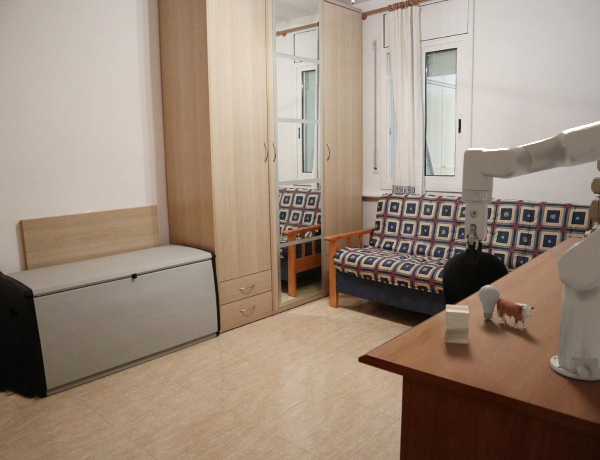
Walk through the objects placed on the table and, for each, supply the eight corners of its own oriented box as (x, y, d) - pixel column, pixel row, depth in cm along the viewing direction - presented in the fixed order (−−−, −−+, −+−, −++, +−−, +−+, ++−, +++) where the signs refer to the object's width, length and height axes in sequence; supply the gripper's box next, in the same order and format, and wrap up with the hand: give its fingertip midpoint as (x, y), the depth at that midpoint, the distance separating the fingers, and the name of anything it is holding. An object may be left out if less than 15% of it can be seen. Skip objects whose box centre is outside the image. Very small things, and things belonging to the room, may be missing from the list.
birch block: (467, 344, 139) (469, 313, 138) (445, 342, 141) (446, 311, 139) (466, 336, 145) (468, 306, 143) (444, 334, 146) (445, 304, 145)
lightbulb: (486, 324, 153) (487, 289, 152) (473, 317, 159) (474, 283, 157) (502, 321, 155) (504, 287, 153) (489, 315, 161) (491, 281, 159)
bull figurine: (525, 335, 145) (527, 307, 143) (492, 320, 157) (493, 294, 156) (537, 333, 146) (539, 305, 145) (503, 318, 159) (505, 292, 157)
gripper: (489, 200, 123) (485, 269, 126) (494, 193, 138) (491, 254, 141) (457, 199, 126) (454, 266, 129) (466, 192, 141) (463, 252, 145)
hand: (473, 260), depth 135 cm, fingers open, 9 cm apart
